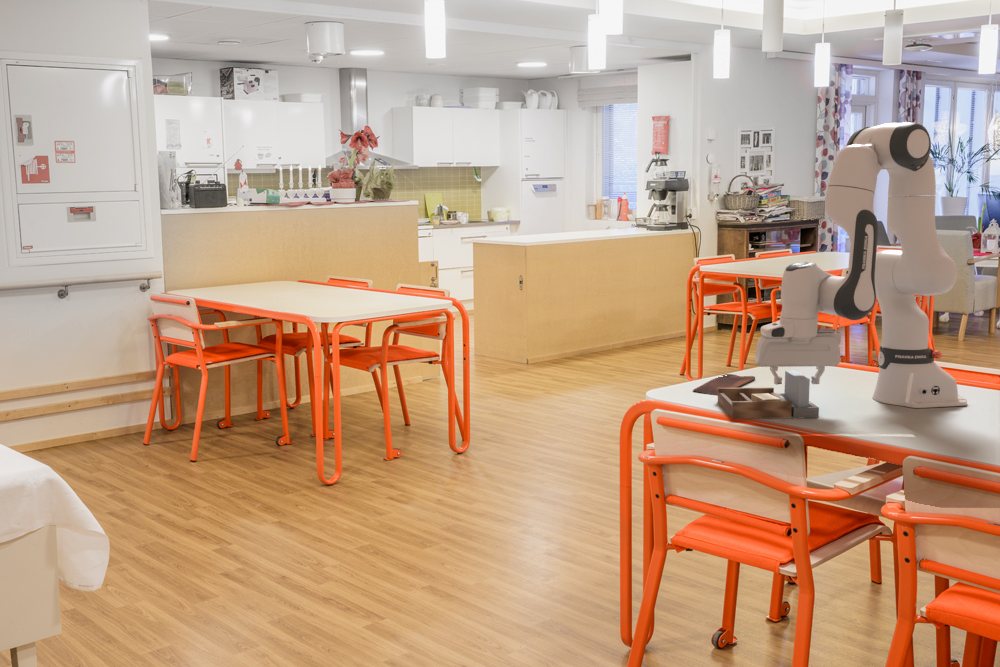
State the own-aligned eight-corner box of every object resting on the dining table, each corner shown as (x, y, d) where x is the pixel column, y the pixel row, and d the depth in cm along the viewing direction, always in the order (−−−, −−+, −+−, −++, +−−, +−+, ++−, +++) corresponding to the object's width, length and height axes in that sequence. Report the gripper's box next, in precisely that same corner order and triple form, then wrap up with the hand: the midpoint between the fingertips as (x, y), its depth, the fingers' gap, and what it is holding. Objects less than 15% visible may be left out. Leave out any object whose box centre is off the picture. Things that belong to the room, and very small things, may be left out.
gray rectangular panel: (793, 405, 240) (795, 370, 238) (808, 415, 228) (809, 379, 226) (784, 405, 240) (785, 370, 238) (798, 416, 228) (799, 379, 226)
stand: (797, 402, 242) (797, 393, 242) (818, 417, 225) (818, 407, 225) (774, 402, 242) (774, 393, 242) (793, 418, 225) (793, 407, 225)
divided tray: (772, 402, 242) (772, 387, 242) (791, 418, 225) (791, 401, 225) (717, 403, 242) (718, 387, 242) (732, 418, 226) (733, 402, 225)
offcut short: (767, 400, 238) (768, 393, 238) (780, 406, 231) (780, 398, 231) (751, 401, 237) (751, 393, 237) (762, 407, 230) (763, 399, 230)
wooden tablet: (721, 391, 249) (687, 383, 255) (720, 399, 249) (686, 391, 255) (758, 376, 270) (725, 369, 276) (757, 383, 271) (724, 376, 276)
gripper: (836, 326, 234) (834, 381, 236) (754, 327, 234) (752, 381, 236) (845, 330, 227) (843, 386, 229) (760, 330, 228) (759, 386, 230)
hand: (796, 383), depth 233 cm, fingers open, 8 cm apart
